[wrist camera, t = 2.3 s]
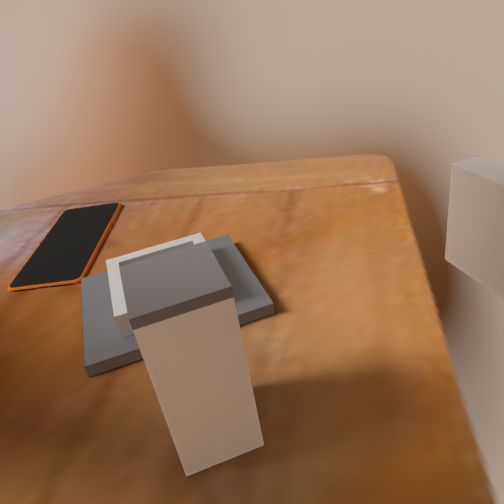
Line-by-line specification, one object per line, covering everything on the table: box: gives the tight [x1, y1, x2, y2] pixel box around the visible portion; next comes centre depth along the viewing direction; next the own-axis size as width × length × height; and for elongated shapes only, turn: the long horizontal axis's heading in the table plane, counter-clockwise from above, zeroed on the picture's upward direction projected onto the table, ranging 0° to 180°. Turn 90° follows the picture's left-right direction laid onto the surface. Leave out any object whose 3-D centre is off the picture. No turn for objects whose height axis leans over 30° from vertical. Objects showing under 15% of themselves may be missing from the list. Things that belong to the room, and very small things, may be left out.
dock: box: [81, 233, 275, 377], centre depth 38 cm, size 14×12×3 cm
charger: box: [119, 241, 264, 477], centre depth 24 cm, size 4×4×11 cm
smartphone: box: [7, 203, 122, 292], centre depth 50 cm, size 8×17×1 cm, turn 0°
